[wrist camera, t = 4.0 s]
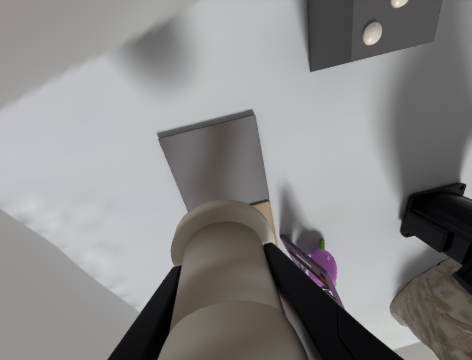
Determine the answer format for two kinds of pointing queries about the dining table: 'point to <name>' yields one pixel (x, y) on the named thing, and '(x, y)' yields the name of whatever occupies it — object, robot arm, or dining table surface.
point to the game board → (220, 165)
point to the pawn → (227, 289)
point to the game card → (316, 266)
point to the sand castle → (437, 311)
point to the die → (367, 28)
